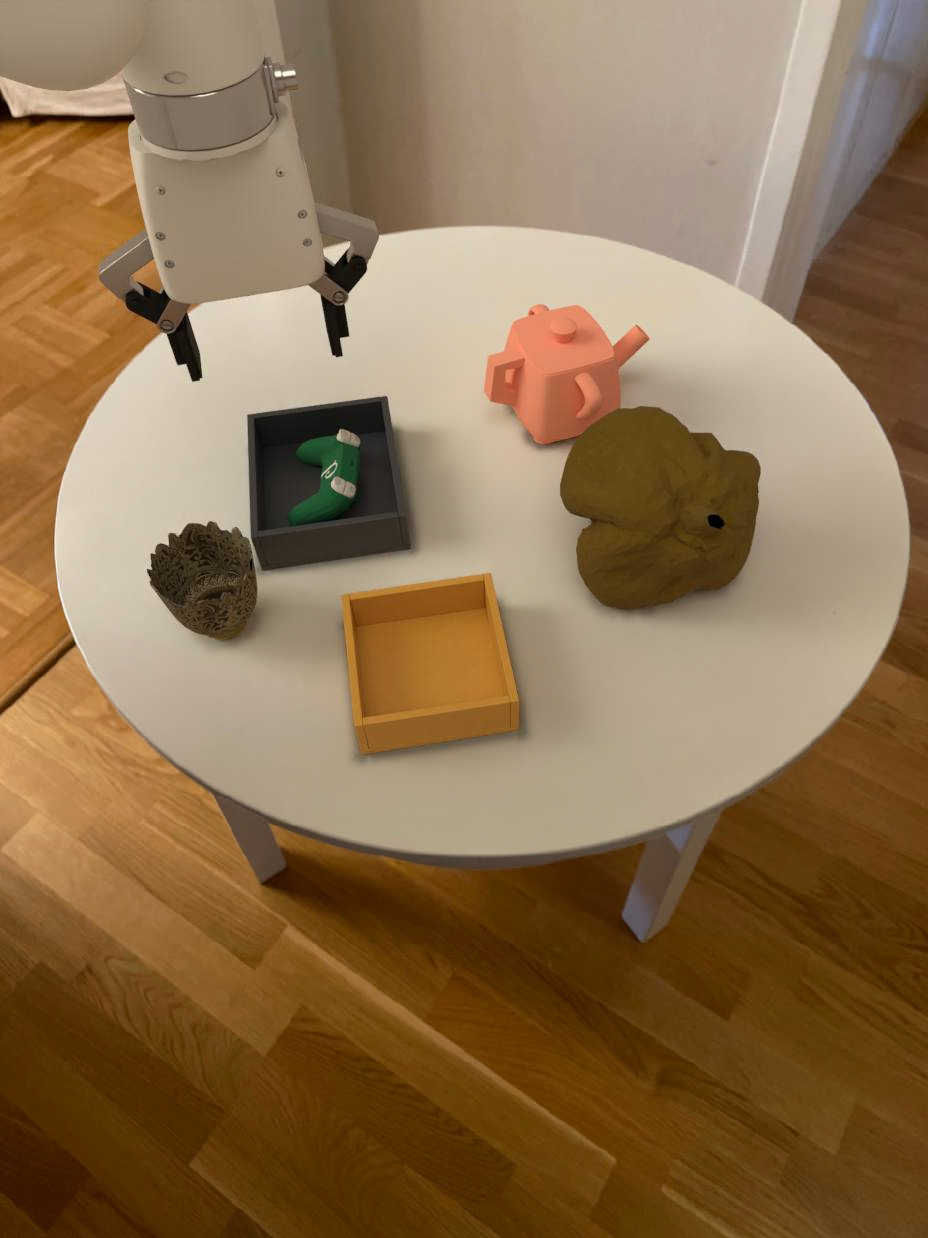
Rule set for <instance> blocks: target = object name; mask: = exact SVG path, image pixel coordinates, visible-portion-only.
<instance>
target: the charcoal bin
mask: <svg viewBox="0 0 928 1238" xmlns="http://www.w3.org/2000/svg"><path fill="white" fill-rule="evenodd" d="M246 422H247V424H246V426H247V456H248V458H247V460H248V488H249V489H248V491H249V492H248V493H249V496H248V497H249V525H250V526H249V529H250V540H251V542H252V546H253V549H254V551H255V554H256V557H257V560H258V563H259V566H260V569H261V571H268V570H274V569H282V568H289V567H295V566H302V565H309V564H315V563H322V562H331V561H337V560H343V559H351V558H359V557H365V556H369V555H370V556H371V555H378V554H379V555H380V554H386V553H392V552H399V551H406V550H411V549H412V546H411V538H410V531H409V530H410V529H409V522H408V516H407V510H406V503H405V497H404V490H403V485H402V477H401V472H400V465H399V459H398V453H397V448H396V447H397V446H396V440H395V435H394V427H393V423H392V422H393V421H392V416H391V409H390V403H389V397H388V396H387V395H382V396H374V397H366V398H359V399H353V400H344V401H337V402H330V403H321V404H314V405H308V406H301V407H293V408H285V409H278V410H269V411H262V412H256V413H248V414H247V415H246ZM340 429H344V430H346V431H349V432H350V433H353V434H355V435H356V436H357V437H358V438H359V439H360V441H361V453H360V465H359V476H358V483H357V487H358V489H357V495H356V497H355V500H354V502H353V503H352V504H351V505H350V507H349V510H348V511H347V512H343V513H342V514H341V515H339V516H337V517H336V518H333V519H331V520H328V521H326V522H320V523H313V524H306V525H299V526H292V527H290V524H289V522H288V519H287V517H286V516H287V515H288V513H289V512H290V511H291V510H292V509H293V508H294V507H295V506H296V505H298V504H300V503H301V502H303V501H305V500H307V499H308V498H310V497H312V496H313V495H315V494H317V493H318V492H319V489H320V482H321V474H322V467H323V466H312V465H307V464H304V463H302V462H301V461H300V460H299V459H298V458H297V456H296V452H297V450H298V448H299V447H300V446H301V445H302V444H303V443H305V442H306V441H308V440H310V439H315V438H320V437H327V436H335V435H337V434H338V433H339V430H340Z"/></svg>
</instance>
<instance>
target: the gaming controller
mask: <svg viewBox="0 0 928 1238" xmlns="http://www.w3.org/2000/svg"><path fill="white" fill-rule="evenodd" d="M360 453H361V441H360V439H359V438H358V437H357V436H356V435H355V434H353V433H350V432H349V431H346V430H344V429H340V430H339V433H338V434H337V435H335V436H327V437H320V438H315V439H310V440H308V441H306V442H305V443H303V444H302V445H301V446H300V447H299V448H298V450H297V452H296V456H297V458H298V459H299V460H300V461H301V462H302V463H304V464H307V465H312V466H323V467H322V474H321V482H320V489H319V492H318V493H317V494H315V495H313V496H312V497H310V498H308V499H307V500H305V501H303V502H301V503H300V504H298V505H296V506H295V507H294V508H293V509H292V510H291V511H290V512H289V513H288V515H287V516H286V517H287V519H288V522H289V524H290V527H292V526H299V525H306V524H313V523H320V522H326V521H328V520H331V519H333V518H336V517H337V516H339V515H341V514H342V513H343V512H347V511H348V510H349V507H350V505H351V504H352V503H353V502H354V500H355V497H356V495H357V489H358V487H357V483H358V476H359V465H360Z"/></svg>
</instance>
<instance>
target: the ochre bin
mask: <svg viewBox="0 0 928 1238" xmlns="http://www.w3.org/2000/svg"><path fill="white" fill-rule="evenodd" d="M340 598H341V599H340V600H341V609H342V618H343V628H344V638H345V648H346V658H347V669H348V677H349V687H350V688H349V689H350V698H351V708H352V709H351V710H352V719H353V727H354V731H355V734H356V738H357V742H358V745H359V746H358V747H359V749H360V752H361V755H368V754H375V753H376V754H377V753H381V752H387V751H394V750H401V749H408V748H412V747H418V746H419V747H420V746H426V745H433V744H439V743H444V742H445V743H446V742H450V741H451V742H452V741H458V740H464V739H470V738H478V737H482V736H489V735H496V734H502V733H503V734H504V733H508V732H515V731H519V729H520V728H519V727H520V698H519V693H518V689H517V688H518V687H517V683H516V680H515V675H514V670H513V666H512V662H511V657H510V653H509V647H508V643H507V638H506V634H505V629H504V626H503V625H504V624H503V620H502V617H501V612H500V607H499V604H498V603H499V602H498V599H497V594H496V589H495V585H494V580H493V575H492V573H491V572H487V573H481V574H480V573H479V574H474V575H473V574H472V575H468V576H466V575H465V576H459V577H454V578H446V579H440V580H439V579H438V580H432V581H426V582H425V581H424V582H419V583H412V584H406V585H399V586H392V587H386V588H379V589H373V590H365V591H358V592H352V593H344V594H341V595H340Z"/></svg>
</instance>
